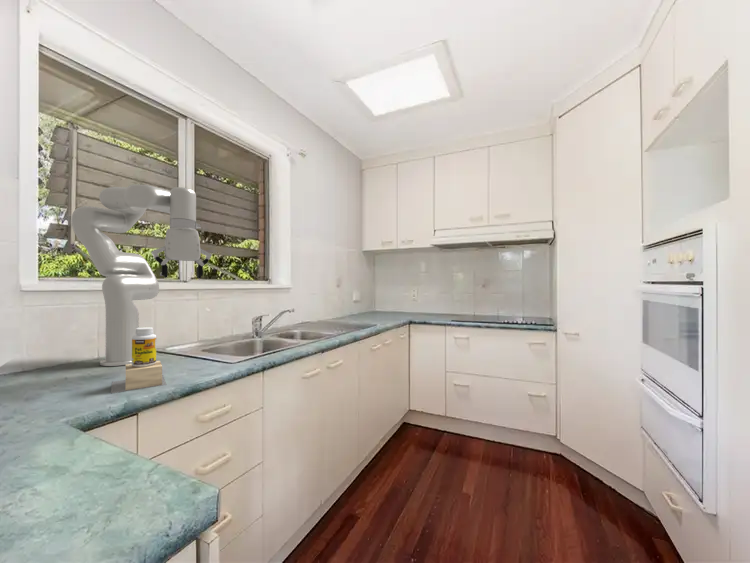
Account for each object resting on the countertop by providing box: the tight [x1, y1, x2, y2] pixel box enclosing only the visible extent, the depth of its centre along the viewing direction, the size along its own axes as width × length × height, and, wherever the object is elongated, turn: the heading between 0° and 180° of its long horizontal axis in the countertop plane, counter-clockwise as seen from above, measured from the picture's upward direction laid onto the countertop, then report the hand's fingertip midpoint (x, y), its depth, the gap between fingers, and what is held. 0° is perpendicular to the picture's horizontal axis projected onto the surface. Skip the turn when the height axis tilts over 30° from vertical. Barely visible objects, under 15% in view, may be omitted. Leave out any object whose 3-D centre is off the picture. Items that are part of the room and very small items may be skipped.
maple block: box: [125, 360, 163, 390], centre depth 92 cm, size 8×8×5 cm
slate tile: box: [110, 374, 167, 394], centre depth 93 cm, size 12×12×1 cm
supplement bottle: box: [132, 326, 157, 367], centre depth 93 cm, size 6×6×10 cm
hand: (182, 278), depth 111 cm, fingers open, 9 cm apart
